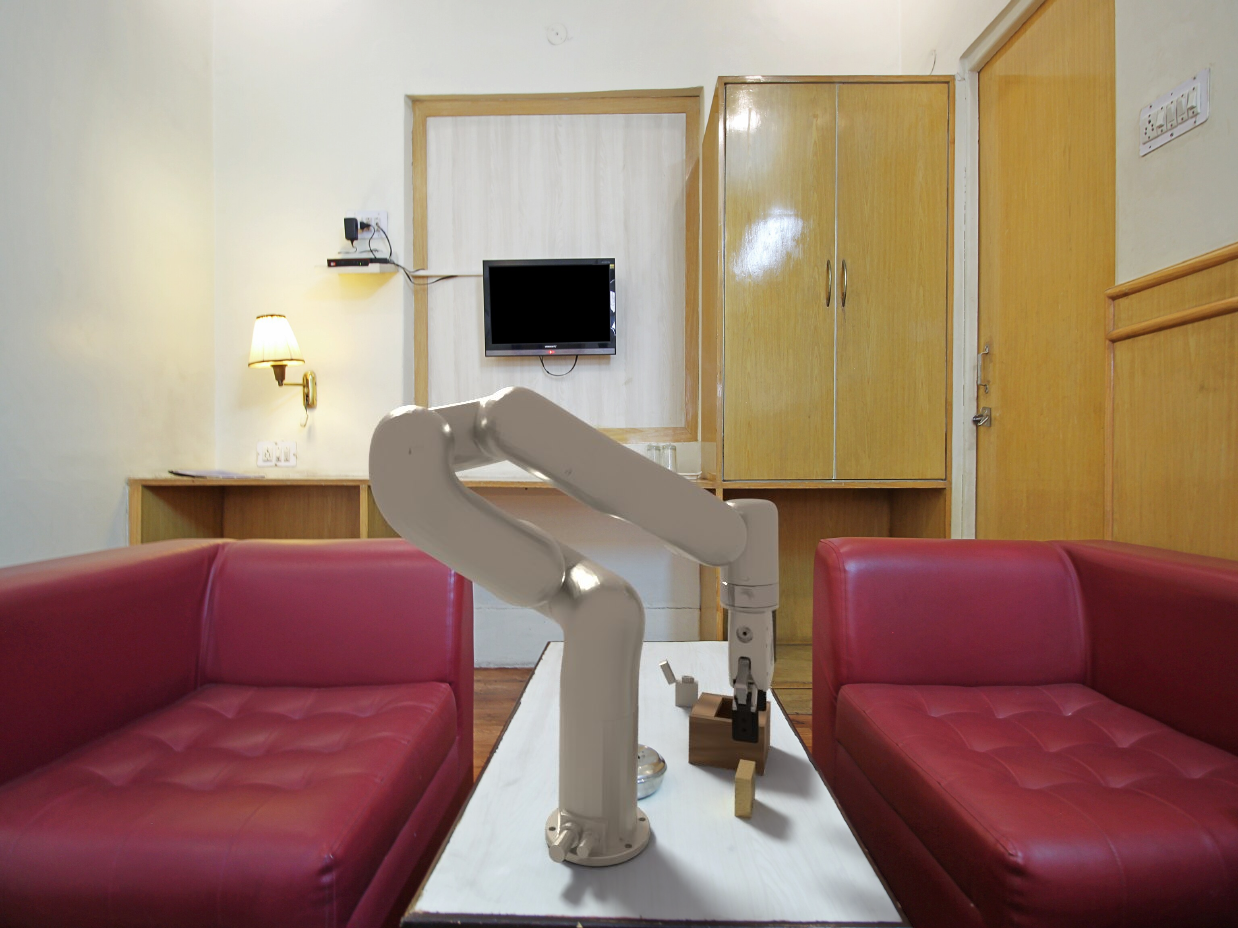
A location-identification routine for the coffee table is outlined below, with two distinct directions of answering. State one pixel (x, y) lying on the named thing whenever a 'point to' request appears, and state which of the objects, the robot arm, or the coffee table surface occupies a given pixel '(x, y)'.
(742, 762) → the gold metal block
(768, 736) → the box
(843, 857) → the coffee table surface
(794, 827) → the coffee table surface
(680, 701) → the lighter
